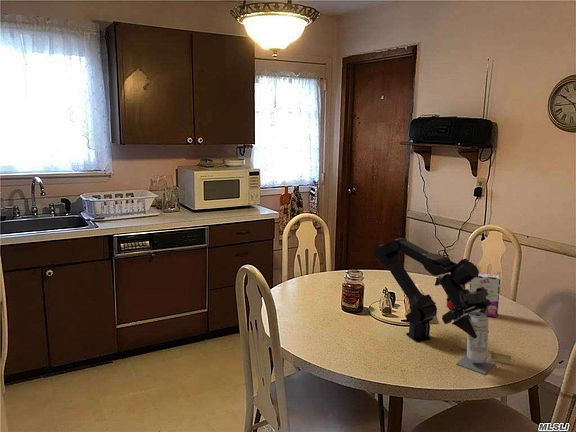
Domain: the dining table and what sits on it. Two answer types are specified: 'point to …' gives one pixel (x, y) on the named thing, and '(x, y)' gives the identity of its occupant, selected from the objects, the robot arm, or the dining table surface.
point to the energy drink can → (478, 338)
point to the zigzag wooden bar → (492, 354)
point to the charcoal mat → (475, 365)
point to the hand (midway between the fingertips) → (481, 335)
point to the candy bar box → (488, 290)
